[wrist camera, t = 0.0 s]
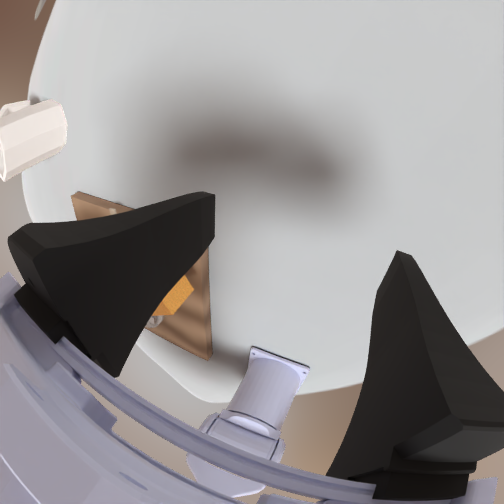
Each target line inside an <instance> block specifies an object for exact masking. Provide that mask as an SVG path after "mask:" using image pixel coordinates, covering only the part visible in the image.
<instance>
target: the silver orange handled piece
mask: <svg viewBox="0 0 504 504" xmlns="http://www.w3.org/2000/svg"><path fill="white" fill-rule="evenodd" d="M193 290H194V288H193V287H192V285H191V284H190V282H189V281H188V279H187V278H186V276H185V275H184V276H183V277H182V278H181V279H180V280H179V281H178V282H177V284H176V285H175V286H174V287H173V288H172V289H171V290H170V291H169V293H168V294H167V295H166V296H165V297H164V299H163V300H162V302H161V303H160V304H159V306H158V307H157V309H156V310H155V312H154V313H153V315H152V316H151V318H150V319H149V321H148V322H147V324H146V326H145V327H148V328H155V327H157V326H158V325H159V324H160V323H161V322H162V320H163V319H164V318H165V317H166V316H167V315H173V314H174V313H175V312H176V311H177V309H178V308H179V307H180V306H181V305H182V303H183V302H184V301H185V300H186V299H187V297H188V296H189V295H190V294H191V293H192V292H193Z"/></svg>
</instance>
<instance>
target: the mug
mask: <svg viewBox="0 0 504 504" xmlns="http://www.w3.org/2000/svg"><path fill="white" fill-rule="evenodd" d="M67 124H68V123H67V120H66V117H65V114H64V111H63V108H62V105H61V104H60V103H58V102H56V101H54V100H53V99H49V100H46V101H43V102H40V103H37V104H34V105H31V106H30V100H27V101H21V102H15V103H11V104H6V105H4V106H3V107H2V109H1V110H0V177H1V179H2V180H3V181H4V182H5V181H7V180H8V179H10V178H12V177H13V176H15V175H17V174H19V173H20V172H22V171H24V170H26V169H28V168H30V167H32V166H33V165H35V164H37V163H39V162H41V161H43V160H45V159H47V158H49V157H51V156H54V155H56V154H58V153H60V151H61V150H62V148H63V147H64V146H65V144H66V138H67Z"/></svg>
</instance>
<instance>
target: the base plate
mask: <svg viewBox="0 0 504 504" xmlns="http://www.w3.org/2000/svg"><path fill="white" fill-rule="evenodd" d="M71 199H72V203H73V207H74V211H75V215H76V218H77V221H78V220H85V219H91V218H97V217H104V216H109V215H113V214H118V213H122V212H126V211H130V210H134V209H132V208H129V207H125V206H122V205H119V204H116V203H113V202H110V201H107V200H104V199H101V198H97V197H94V196H91V195H88V194H85V193H82V192H77V193H75V194H74V195H72V196H71ZM185 276H186V278H187V279H188V281H189V282H190V284H191V285H192V287H193V288H194V290H193V292H192V293H191V294H190V295H189V296H188V297H187V299H186V300H185V301H184V302H183V303H182V305H181V306H180V307H179V308H178V309H177V311H176V312H175V313H174V314H173V315H167V316H166V317H165V318H164V319H163V320H162V322H161V323H160V324H159V325H158V326H157V327H155V328H148V327H144V328H146V329H147V330H149V331H151V332H153V333H155V334H156V335H158V336H160V337H162V338H164V339H165V340H167V341H169V342H171V343H173V344H175V345H177V346H179V347H181V348H183V349H184V350H186V351H188V352H190V353H192V354H194V355H196V356H199V357H201V358H203V359H205V360H207V361H208V360H209V359H210V357H211V355H212V354H213V352H212V335H211V316H210V293H209V260H208V248H207V249H206V251H205V252H204V253H203V255H202V256H201V257H200V258H199V259H198V261H197V262H196V263H195V264H194V265H193V266H192V267H191V268H190V269H189V270H188V272H187V273H186V274H185Z"/></svg>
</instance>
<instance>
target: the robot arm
mask: <svg viewBox="0 0 504 504" xmlns="http://www.w3.org/2000/svg"><path fill="white" fill-rule="evenodd" d="M214 237H215V195H214V194H210V193H206V192H195V193H190V194H186V195H183V196H179V197H176V198H172V199H169V200H165V201H162V202H159V203H155V204H152V205H148V206H145V207H141V208H138V209H134V210H130V211H126V212H122V213H118V214H113V215H109V216H104V217H97V218H91V219H85V220H78V221H69V222H55V223H29V224H26V225H24V226H22V227H21V228H20V229H18V230H17V231H16V232H14V233H13V234H12V235H10V236H9V237H8V246H9V249H10V252H11V254H12V257H13V259H14V261H15V263H16V265H17V267H18V269H19V271H20V273H21V275H22V277H23V279H24V281H25V283H26V284H25V285H24V286H22V287H21V286H20V285H19V283H18V282H17V280H16V279H15V278H14V277H13V275H12V274H11V273H10V272H7V273H6V274H5V275H4V276H3V277H2V278H1V279H0V504H246V503H244V502H241V501H239V500H236V499H234V497H239V496H245V495H251V494H256V493H258V492H259V491H261V490H263V489H264V488H265V486H266V485H267V486H270V487H273V488H277V489H280V490H283V491H287V492H290V493H295V494H298V495H302V496H306V497H311V498H315V499H320V500H321V501H318V502H317V503H312V502H307V501H302V500H297V499H292V498H288V497H284V496H280V495H276V494H271V495H266V494H263V495H261V496H260V498H259V500H258V502H257V504H493V502H494V497H495V492H496V486H497V480H498V478H497V477H491V478H485V479H477V480H472V481H468V478H469V474H470V473H473V472H475V470H476V464H477V461H479V460H481V459H483V458H485V457H487V456H489V455H491V454H493V453H495V452H497V451H499V450H501V449H503V448H504V392H503V390H502V389H501V388H500V387H499V386H498V385H497V384H496V383H495V381H494V380H493V379H492V378H491V377H490V376H489V374H488V373H487V372H486V371H485V369H484V368H483V367H482V365H481V364H480V363H479V362H478V360H477V359H476V357H475V356H474V355H473V354H472V352H471V351H470V349H469V348H468V347H467V345H466V344H465V342H464V341H463V339H462V338H461V336H460V335H459V333H458V332H457V330H456V329H455V327H454V326H453V324H452V323H451V321H450V320H449V318H448V316H447V315H446V313H445V311H444V309H443V308H442V306H441V305H440V303H439V301H438V299H437V298H436V296H435V294H434V292H433V291H432V289H431V287H430V285H429V284H428V282H427V280H426V278H425V276H424V275H423V273H422V271H421V269H420V268H419V266H418V264H417V263H416V261H415V260H414V258H413V257H412V256H411V255H409V254H406V253H403V252H401V251H398V250H397V251H396V253H395V256H394V258H393V260H392V262H391V264H390V266H389V268H388V270H387V272H386V274H385V276H384V278H383V280H382V282H381V284H380V286H379V288H378V290H377V294H376V299H375V304H374V309H373V315H372V326H371V336H370V346H369V354H368V362H367V368H366V374H365V378H364V382H363V385H362V389H361V392H360V396H359V399H358V402H357V405H356V408H355V411H354V414H353V417H352V419H351V423H350V425H349V427H348V430H347V432H346V435H345V437H344V439H343V442H342V444H341V446H340V448H339V450H338V453H337V454H336V456H335V458H334V461H333V463H332V464H331V467H330V468H329V470H328V472H327V474H326V476H323V475H320V474H315V473H311V472H307V471H304V470H300V469H296V468H293V467H290V466H287V465H283V464H280V463H279V462H280V460H281V458H282V455H283V453H284V450H285V443H284V440H283V439H281V438H279V436H280V434H281V432H280V430H281V427H282V425H283V423H284V420H285V418H286V416H287V413H288V411H289V408H290V406H291V404H292V401H293V399H294V396H295V395H296V393H297V392H298V390H299V388H300V387H301V385H302V383H303V382H304V380H305V378H306V376H307V375H308V373H309V371H310V369H309V368H308V367H306V366H303V365H300V364H297V363H294V362H292V361H289V360H286V359H283V358H281V357H278V356H275V355H273V354H270V353H267V352H265V351H262V350H260V349H257V348H254V347H253V348H251V350H250V356H249V363H248V369H247V372H246V374H245V376H244V378H243V380H242V382H241V384H240V385H239V387H238V389H237V391H236V393H235V394H234V396H233V398H232V400H231V402H230V404H229V405H228V407H227V409H226V410H225V409H223V410H222V412H221V414H218V413H214V414H211V415H209V416H208V417H207V418H206V419H205V420H204V422H203V423H202V425H201V426H200V428H199V429H195V428H194V427H192V426H190V425H188V424H186V423H184V422H182V421H181V420H179V419H177V418H175V417H173V416H172V415H170V414H168V413H166V412H165V411H163V410H161V409H160V408H158V407H156V406H155V405H153V404H152V403H150V402H148V401H147V400H145V399H144V398H142V397H141V396H139V395H138V394H136V393H135V392H133V391H132V390H130V389H129V388H127V387H126V386H124V385H123V384H122V383H120V382H119V381H118V380H116V379H115V377H118V376H119V375H120V373H121V370H122V368H123V366H124V364H125V362H126V360H127V358H128V356H129V354H130V352H131V350H132V348H133V346H134V344H135V343H136V341H137V339H138V337H139V335H140V334H141V332H142V330H143V329H144V327H145V326H146V324H147V322H148V321H149V319H150V318H151V316H152V315H153V313H154V312H155V310H156V309H157V307H158V306H159V304H160V303H161V302H162V300H163V299H164V297H165V296H166V295H167V294H168V293H169V291H170V290H171V289H172V288H173V287H174V286H175V285H176V284H177V282H178V281H179V280H180V279H181V278H182V277H183V276H184V275H185V274H186V273H187V272H188V270H189V269H190V268H191V267H192V266H193V265H194V264H195V263H196V262H197V261H198V259H199V258H200V257H201V256H202V255H203V253H204V252H205V251H206V249H207V248H208V246H209V245H210V243H211V242H212V240H213V239H214ZM81 379H83V380H84V381H85V382H86V383H87V384H88V385H90V386H91V387H92V388H93V389H94V390H95V391H97V392H98V393H99V394H100V395H102V396H103V397H104V398H105V399H107V400H108V401H109V402H110V403H112V404H113V405H114V406H116V407H117V408H118V409H120V410H121V411H123V412H124V413H125V414H127V415H128V416H130V417H131V418H133V419H134V420H135V421H137V422H138V423H140V424H141V425H143V426H144V427H146V428H148V429H149V430H151V431H152V432H154V433H155V434H157V435H159V436H160V437H162V438H164V439H165V440H167V441H169V442H170V443H172V444H174V445H176V446H178V447H180V448H181V449H183V450H185V451H187V452H188V453H187V455H186V456H187V458H186V462H187V464H188V466H189V468H190V470H191V472H192V474H193V475H194V477H195V479H196V481H197V482H195V481H193V480H191V479H189V478H187V477H185V476H183V475H181V474H179V473H177V472H176V471H174V470H172V469H170V468H169V467H167V466H165V465H163V464H161V463H160V462H158V461H156V460H155V459H153V458H152V457H150V456H148V455H147V454H145V453H144V452H142V451H141V450H139V449H138V448H136V447H134V446H133V445H132V444H130V443H129V442H127V441H126V440H124V439H123V438H122V437H120V436H119V435H118V434H116V433H115V432H114V431H112V429H111V428H112V427H113V425H114V424H115V422H116V421H117V417H116V416H114V415H113V414H112V413H111V412H110V411H108V410H107V409H106V408H105V407H104V406H103V405H102V404H101V403H100V402H99V401H97V399H96V398H95V397H94V396H93V395H92V394H91V393H90V392H89V391H88V390H86V389H85V388H84V387H83V386H82V385H81ZM205 461H207V462H209V463H211V464H213V465H216V466H218V467H220V468H222V469H225V470H227V471H229V472H232V473H234V474H237V475H239V476H242V477H244V478H247V479H243V478H241V477H238V476H236V475H233V474H231V473H228V472H226V471H224V470H221V469H219V468H217V467H214V466H212V465H210V464H208V463H206V462H205ZM248 479H250V480H248Z"/></svg>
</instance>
